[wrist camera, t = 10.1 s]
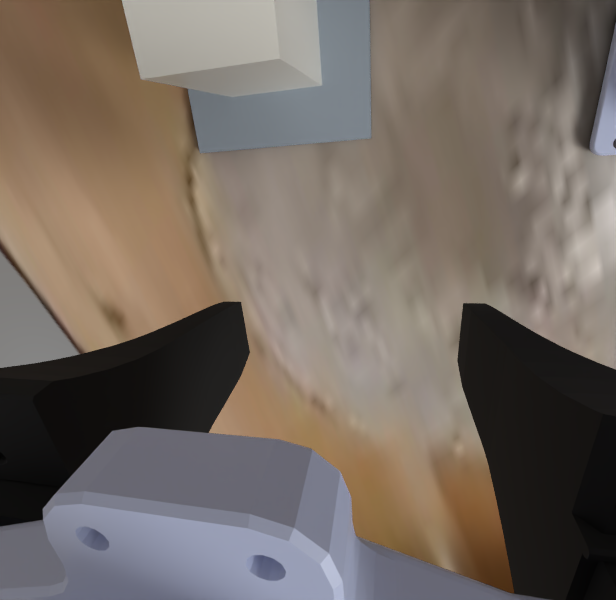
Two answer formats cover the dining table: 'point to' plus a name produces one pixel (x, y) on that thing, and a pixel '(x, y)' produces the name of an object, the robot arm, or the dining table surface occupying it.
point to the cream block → (226, 44)
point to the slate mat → (300, 94)
